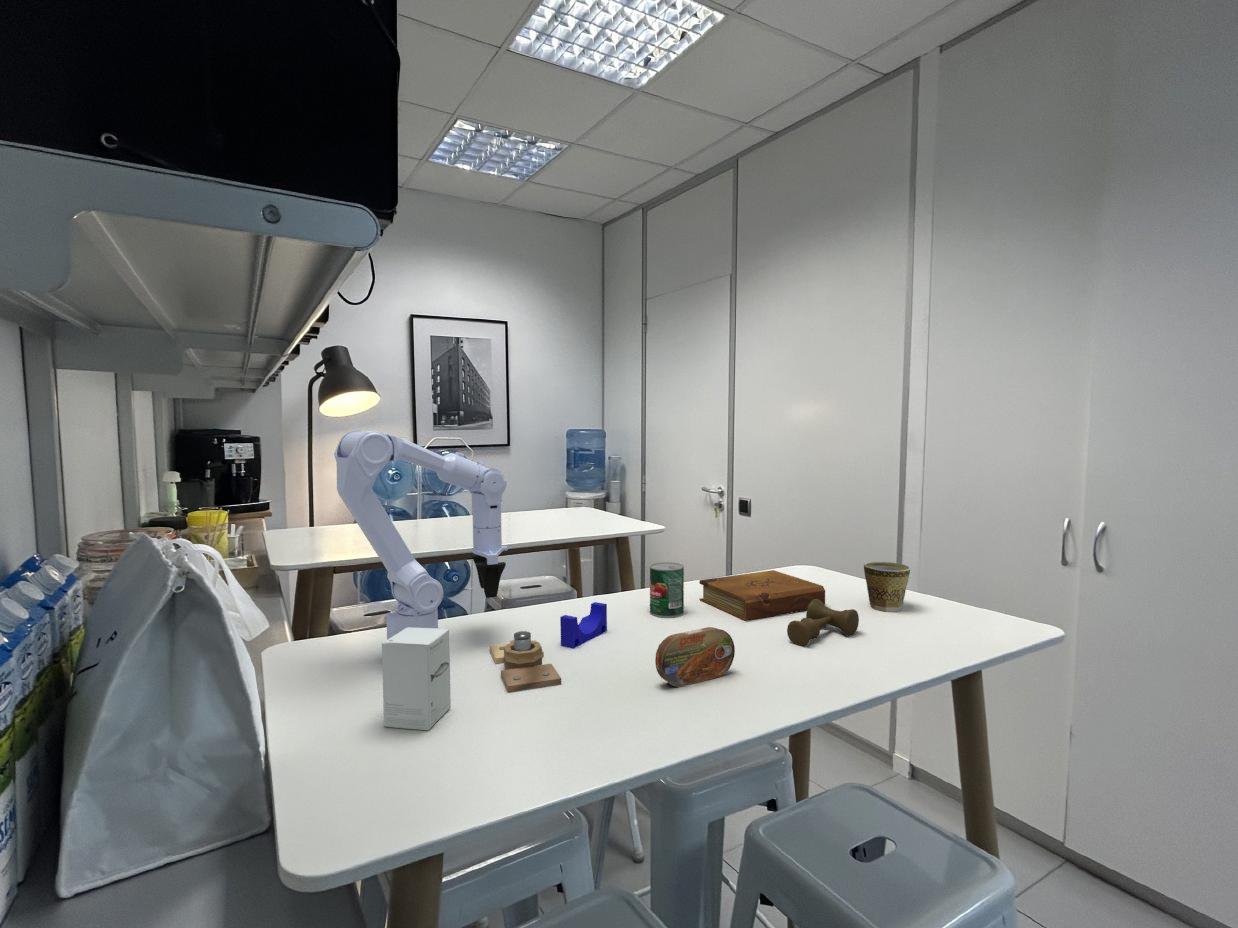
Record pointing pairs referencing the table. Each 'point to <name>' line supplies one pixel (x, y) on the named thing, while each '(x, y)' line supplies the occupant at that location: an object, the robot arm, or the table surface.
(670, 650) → the tin
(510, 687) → the hinge plate
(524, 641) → the grey cylinder
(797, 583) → the diary
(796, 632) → the kendama
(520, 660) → the hinge leaf
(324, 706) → the table surface
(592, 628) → the blue u-shaped block
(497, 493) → the robot arm
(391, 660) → the supplement box
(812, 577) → the table surface
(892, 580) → the ceramic cup
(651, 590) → the canned tomato
